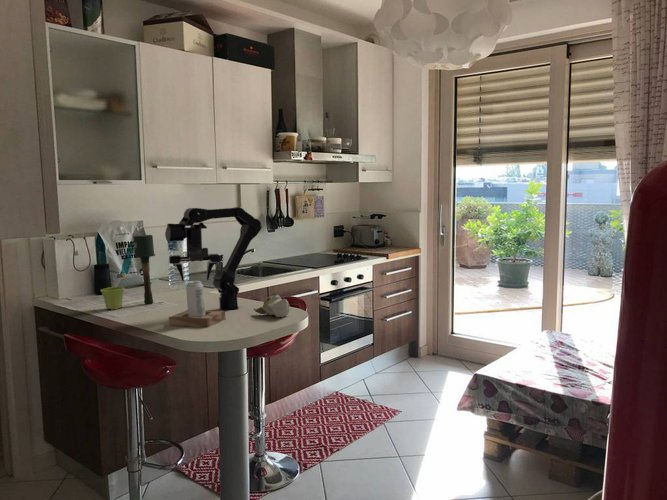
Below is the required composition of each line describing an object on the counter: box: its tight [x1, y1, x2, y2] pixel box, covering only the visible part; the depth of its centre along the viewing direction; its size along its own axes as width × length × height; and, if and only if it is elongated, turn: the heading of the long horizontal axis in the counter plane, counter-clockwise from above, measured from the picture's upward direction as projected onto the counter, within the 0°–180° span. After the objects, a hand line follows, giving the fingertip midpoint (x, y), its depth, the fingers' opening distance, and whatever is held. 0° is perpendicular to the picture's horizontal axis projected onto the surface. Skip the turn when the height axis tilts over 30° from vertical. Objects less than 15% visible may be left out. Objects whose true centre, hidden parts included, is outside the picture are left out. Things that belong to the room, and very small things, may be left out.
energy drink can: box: [185, 280, 206, 317], centre depth 194 cm, size 6×6×15 cm
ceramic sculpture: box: [253, 292, 291, 318], centre depth 200 cm, size 11×9×15 cm
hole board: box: [168, 309, 226, 328], centre depth 195 cm, size 12×16×3 cm
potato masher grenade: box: [133, 234, 156, 305], centre depth 232 cm, size 8×9×30 cm
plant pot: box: [99, 286, 125, 310], centre depth 227 cm, size 9×9×9 cm
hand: (195, 280), depth 207 cm, fingers open, 9 cm apart
